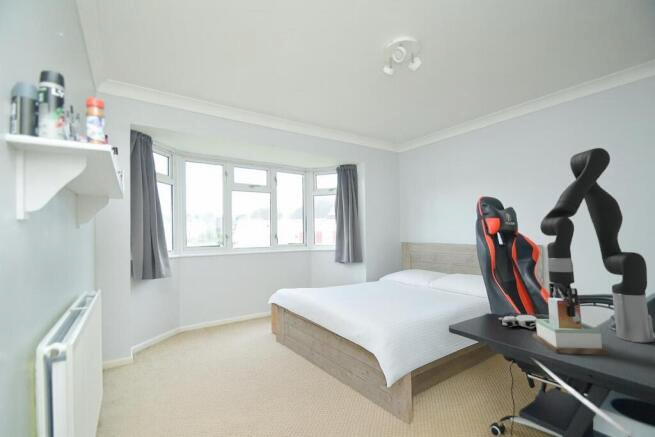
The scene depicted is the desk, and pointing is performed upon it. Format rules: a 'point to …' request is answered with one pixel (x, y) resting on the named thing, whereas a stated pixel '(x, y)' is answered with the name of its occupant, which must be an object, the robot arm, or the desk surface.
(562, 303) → the small box
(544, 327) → the base brick
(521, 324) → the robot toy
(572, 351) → the build plate
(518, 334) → the desk surface
